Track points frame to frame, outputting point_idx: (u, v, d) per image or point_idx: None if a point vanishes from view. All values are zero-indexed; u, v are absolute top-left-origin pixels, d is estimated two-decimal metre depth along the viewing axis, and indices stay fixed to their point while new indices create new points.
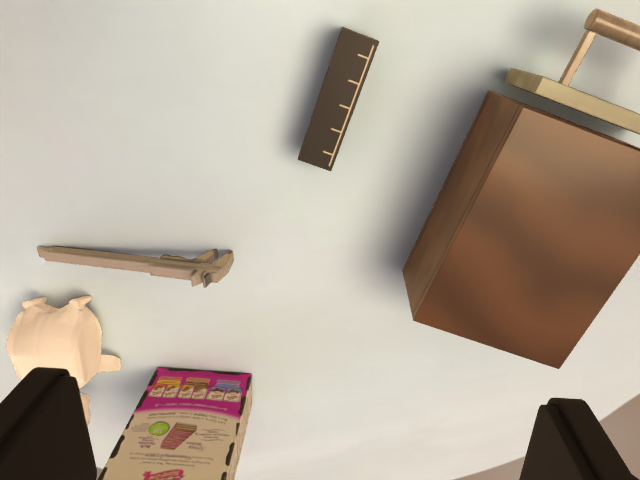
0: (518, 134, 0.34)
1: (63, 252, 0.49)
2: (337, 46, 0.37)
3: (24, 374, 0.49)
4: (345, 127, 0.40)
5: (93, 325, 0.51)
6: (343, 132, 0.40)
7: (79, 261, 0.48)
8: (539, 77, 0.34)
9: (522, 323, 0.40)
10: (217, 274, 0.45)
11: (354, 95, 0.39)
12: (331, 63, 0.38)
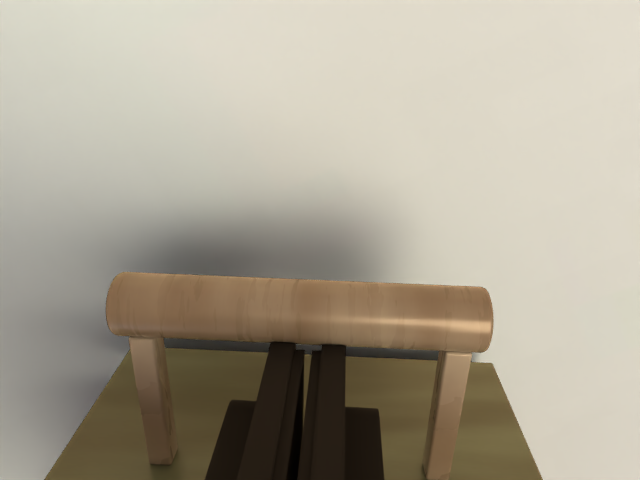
0: None
1: None
2: None
3: None
4: None
5: None
6: None
7: None
8: None
9: None
10: None
11: None
12: None
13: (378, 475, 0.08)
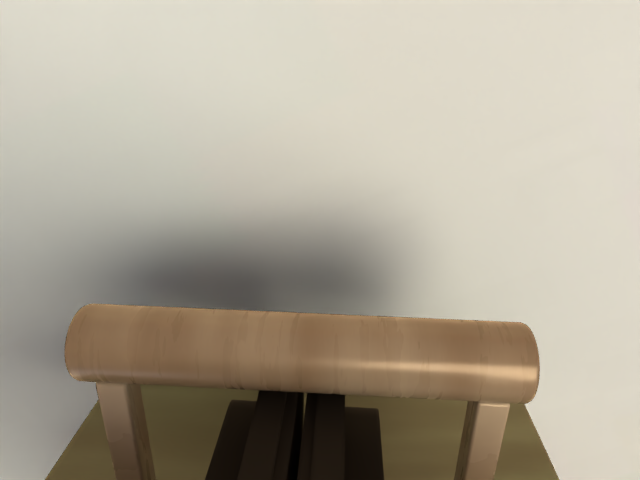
0: None
1: None
2: None
3: None
4: None
5: None
6: None
7: None
8: None
9: None
10: None
11: None
12: None
13: (378, 475, 0.08)
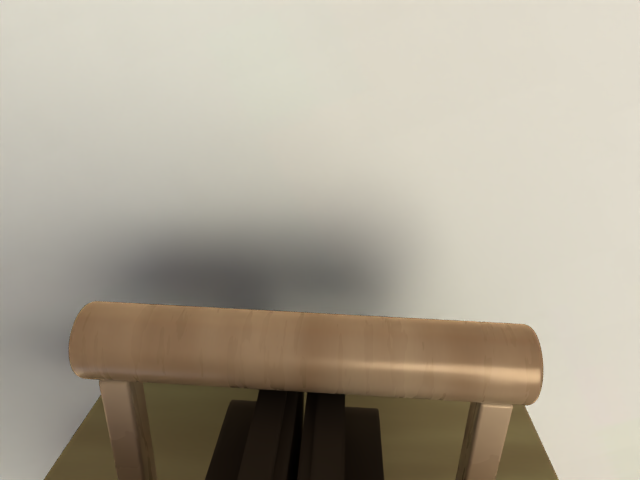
0: None
1: None
2: None
3: None
4: None
5: None
6: None
7: None
8: None
9: None
10: None
11: None
12: None
13: (378, 475, 0.08)
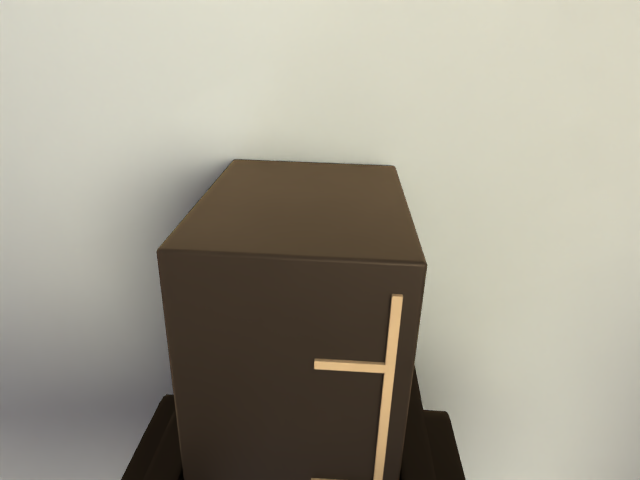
0: None
1: None
2: (178, 353, 0.06)
3: None
4: None
5: None
6: None
7: None
8: None
9: None
10: None
11: None
12: (185, 433, 0.06)
13: (459, 479, 0.08)
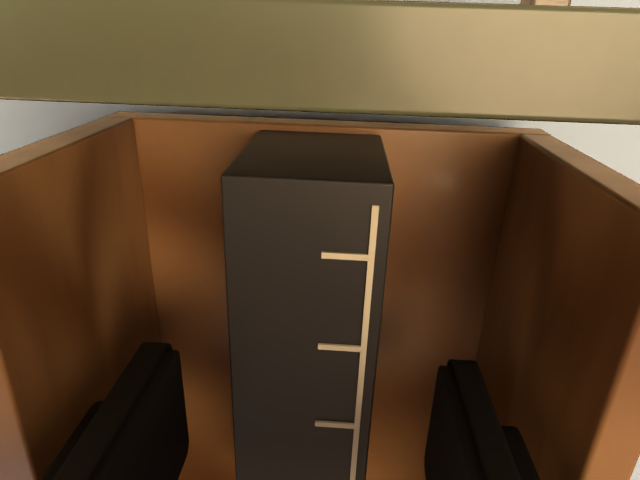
0: None
1: None
2: (230, 248, 0.09)
3: None
4: (359, 476, 0.11)
5: None
6: None
7: None
8: None
9: None
10: None
11: (359, 387, 0.10)
12: (232, 309, 0.09)
13: None
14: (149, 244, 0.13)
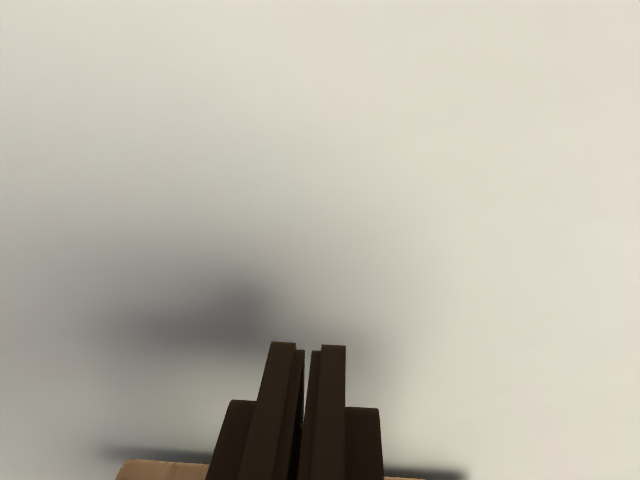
0: None
1: None
2: None
3: None
4: None
5: None
6: None
7: None
8: None
9: None
10: None
11: None
12: None
13: (378, 475, 0.08)
14: None
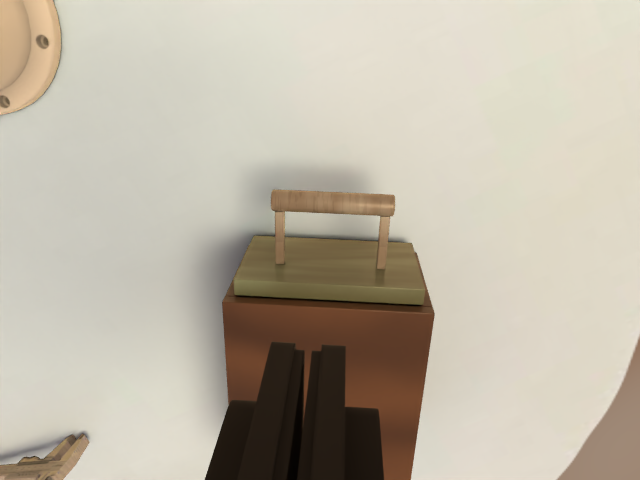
0: (232, 326, 0.32)
1: None
2: None
3: None
4: None
5: None
6: None
7: None
8: None
9: None
10: (57, 475, 0.45)
11: None
12: None
13: (378, 475, 0.08)
14: None
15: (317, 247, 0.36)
